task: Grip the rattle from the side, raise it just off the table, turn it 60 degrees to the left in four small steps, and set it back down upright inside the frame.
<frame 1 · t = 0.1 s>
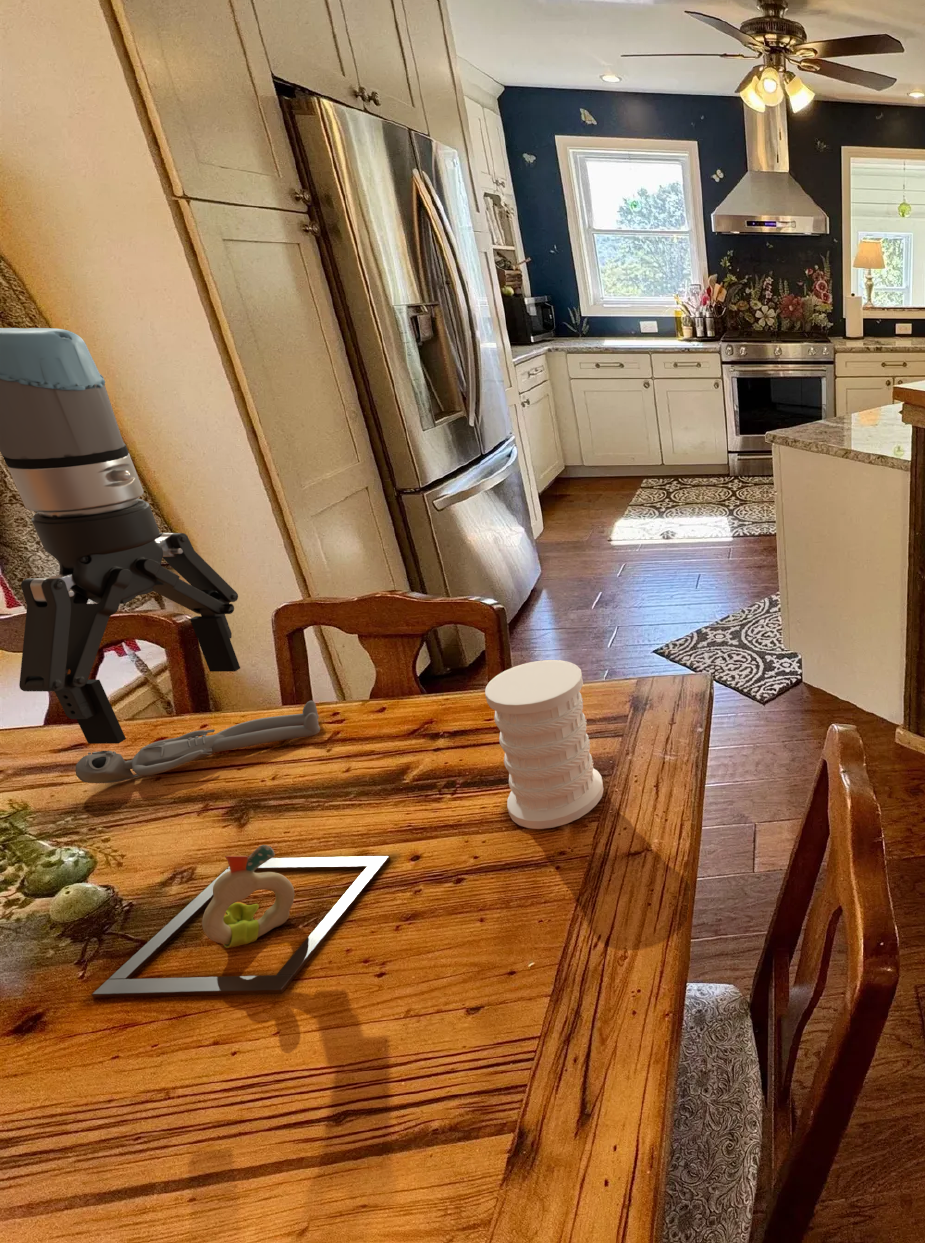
hand: (171, 703, 73), 22 cm above the table, tool pointing down, fingers open, 13 cm apart
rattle: (259, 922, 75), resting in spot frame
alien figure: (212, 757, 101), on the table
spot frame: (258, 920, 75), on the table
decorative container: (557, 799, 94), on the table
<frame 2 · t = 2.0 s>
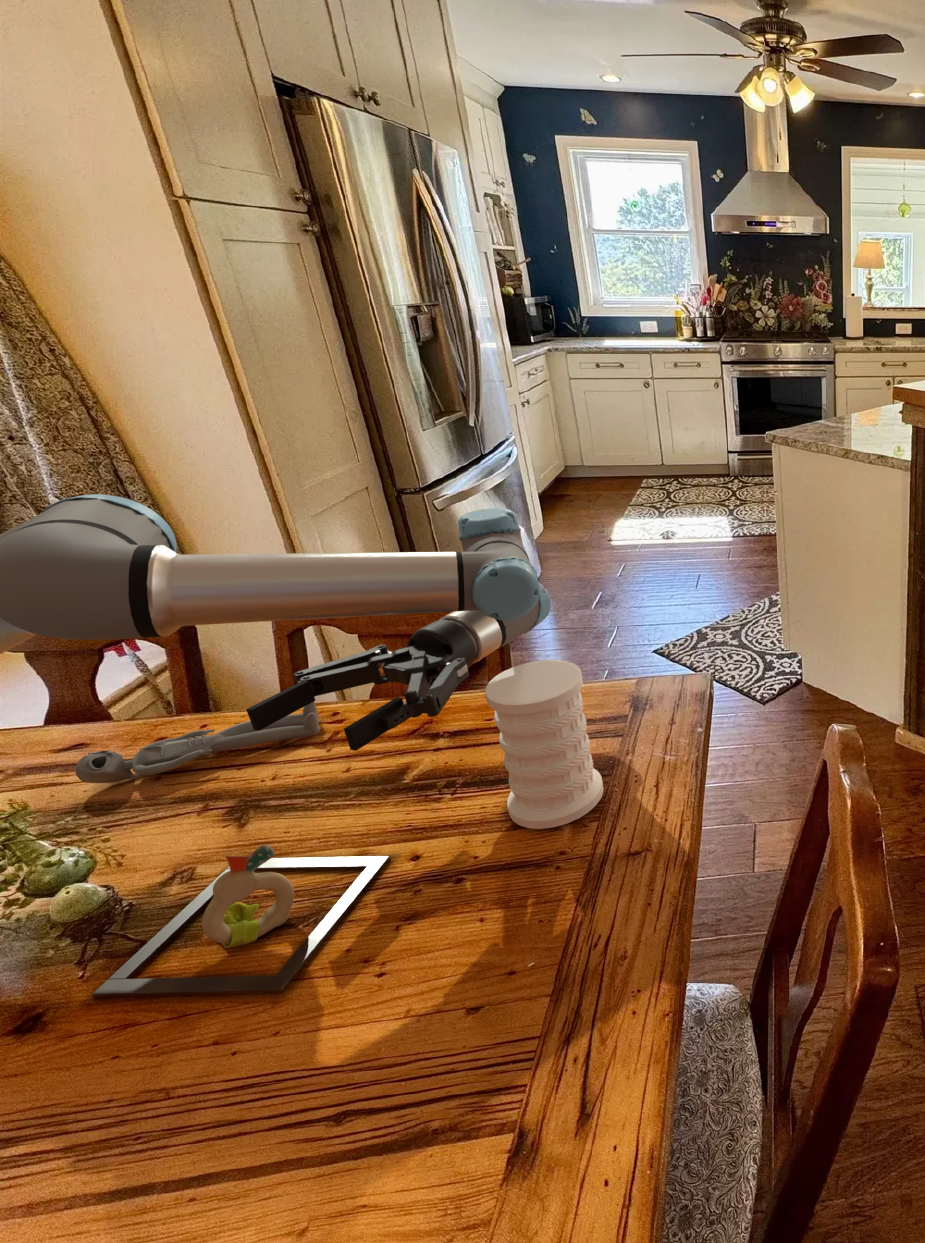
hand: (299, 730, 77), 18 cm above the table, tool horizontal, fingers open, 13 cm apart
nothing on the table moved.
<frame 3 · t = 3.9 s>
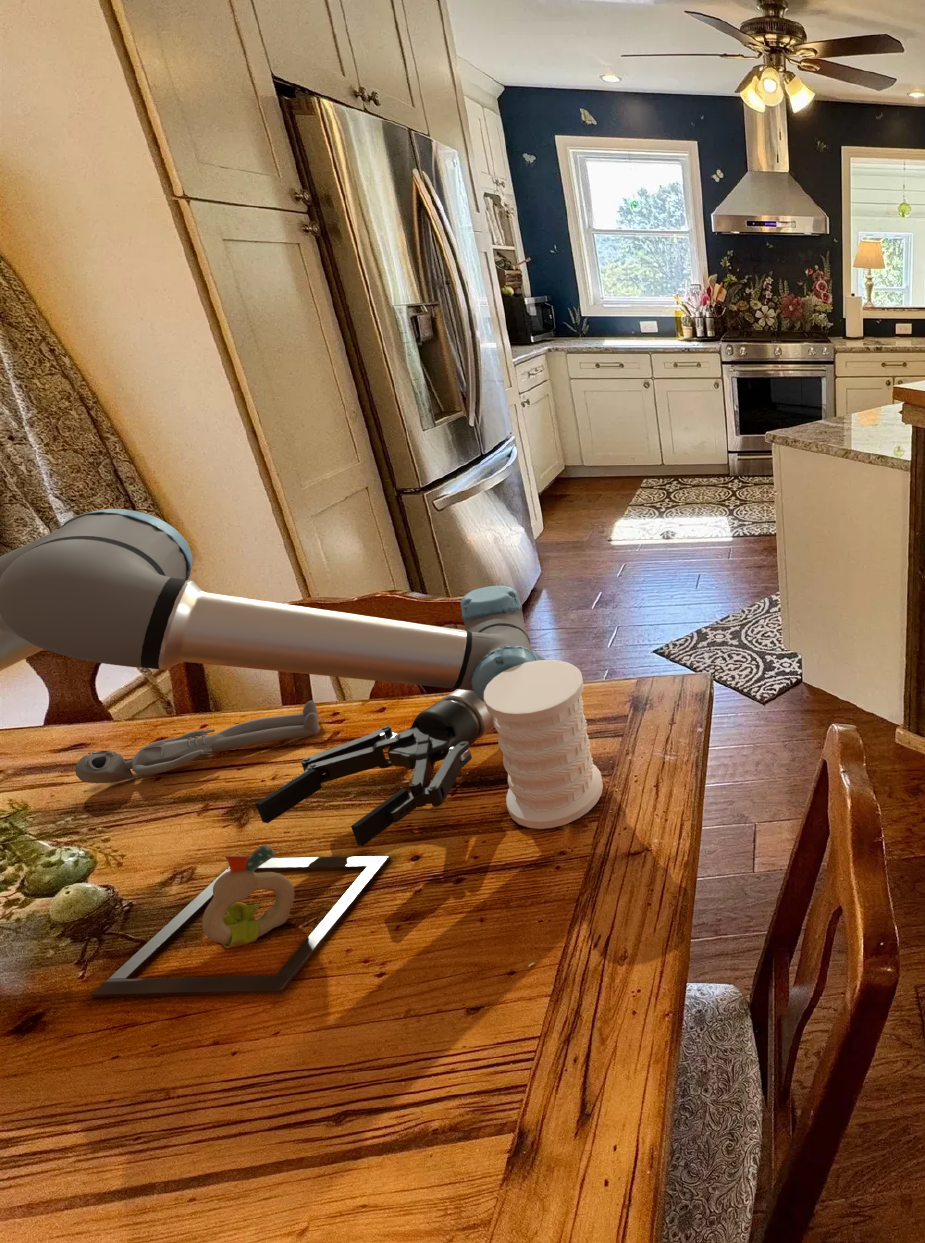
hand: (307, 825, 79), 7 cm above the table, tool horizontal, fingers open, 13 cm apart
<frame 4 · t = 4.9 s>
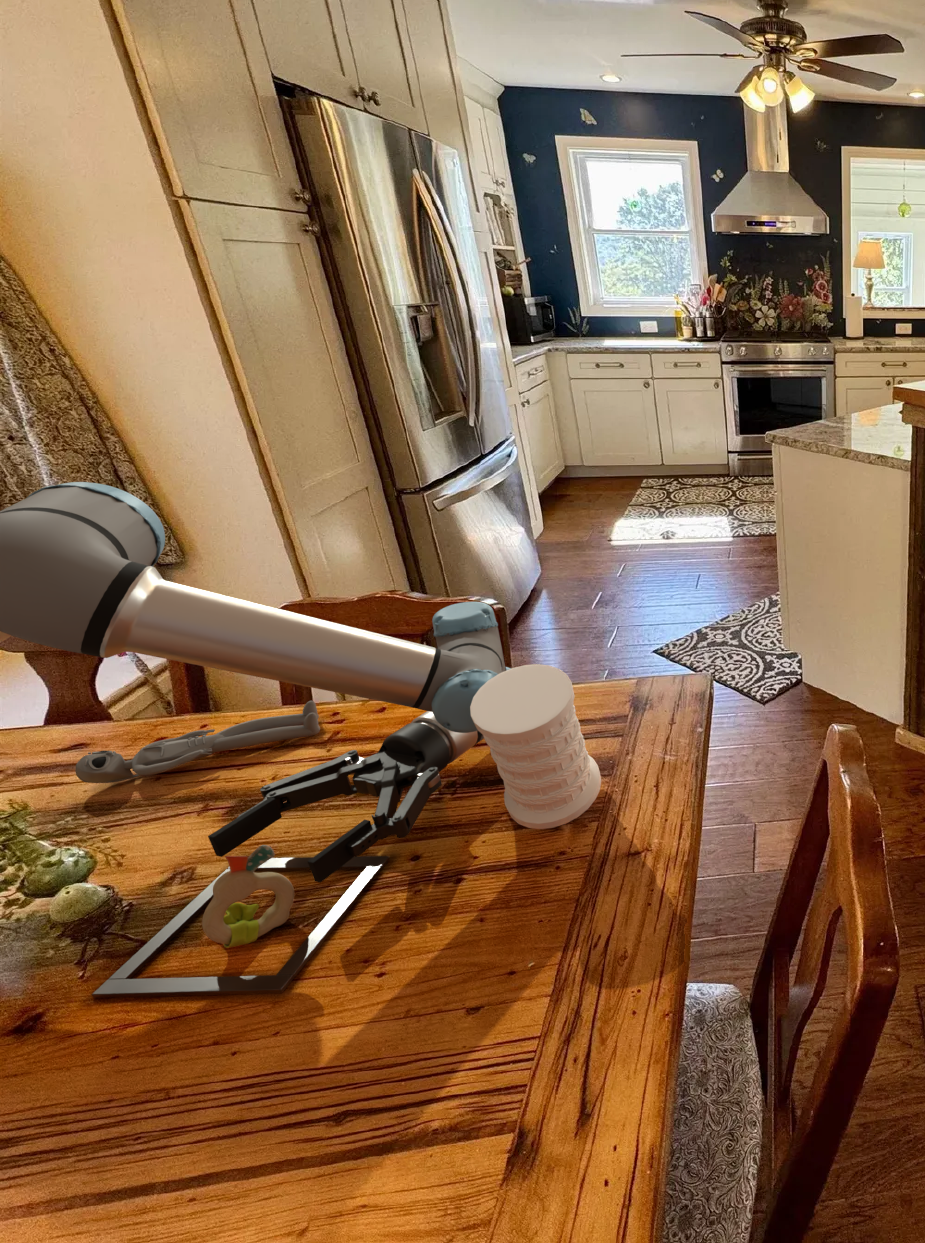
hand: (262, 859, 75), 6 cm above the table, tool horizontal, fingers open, 13 cm apart
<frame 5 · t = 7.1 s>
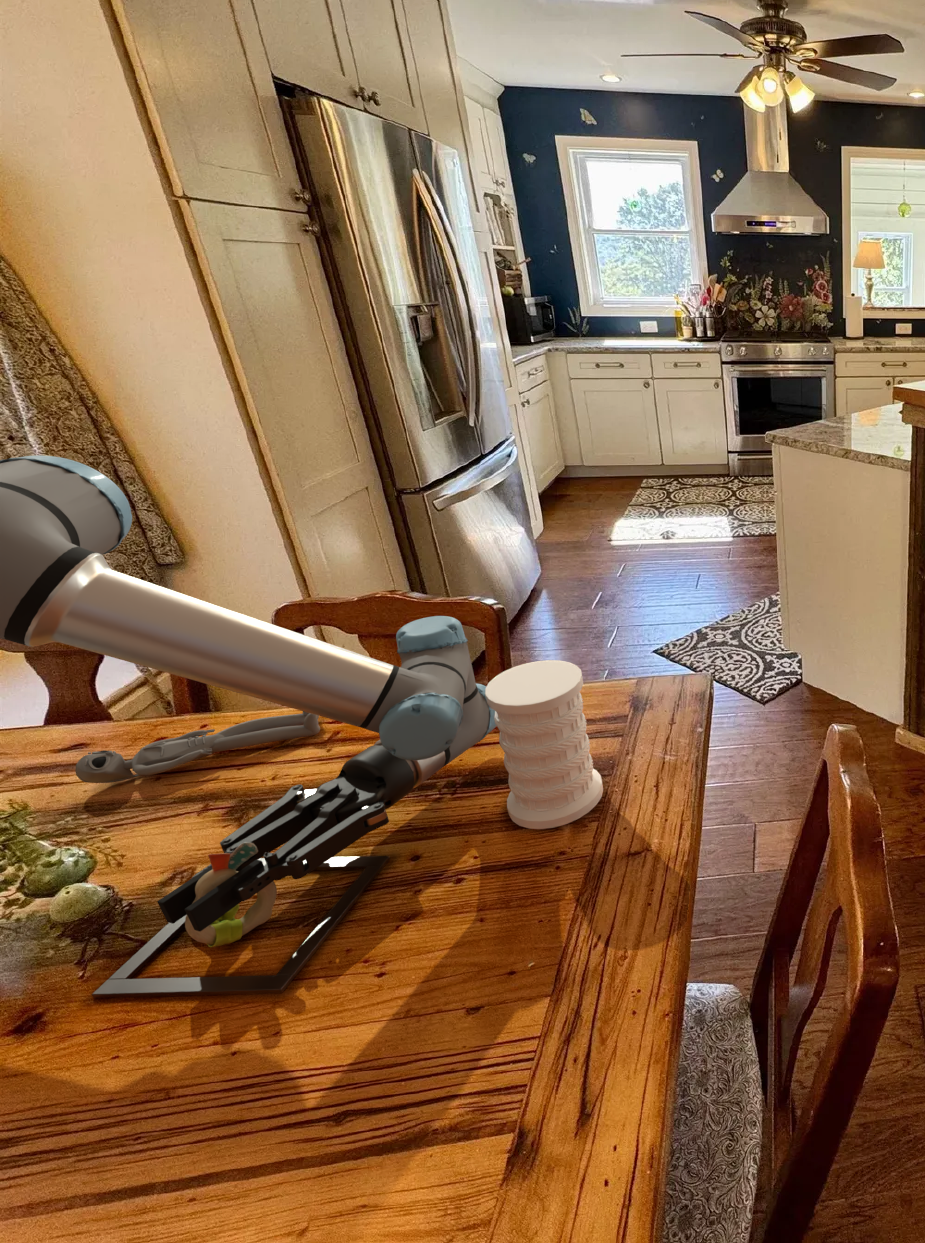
hand: (179, 916, 68), 7 cm above the table, tool horizontal, fingers closed on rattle, 3 cm apart
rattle: (239, 922, 75), resting in spot frame, touching gripper
decorative container: (557, 799, 94), on the table
everything else where it was.
when the fingers open (7 cm above the table, at t = 11.5 s): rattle stays where it is, resting in spot frame.
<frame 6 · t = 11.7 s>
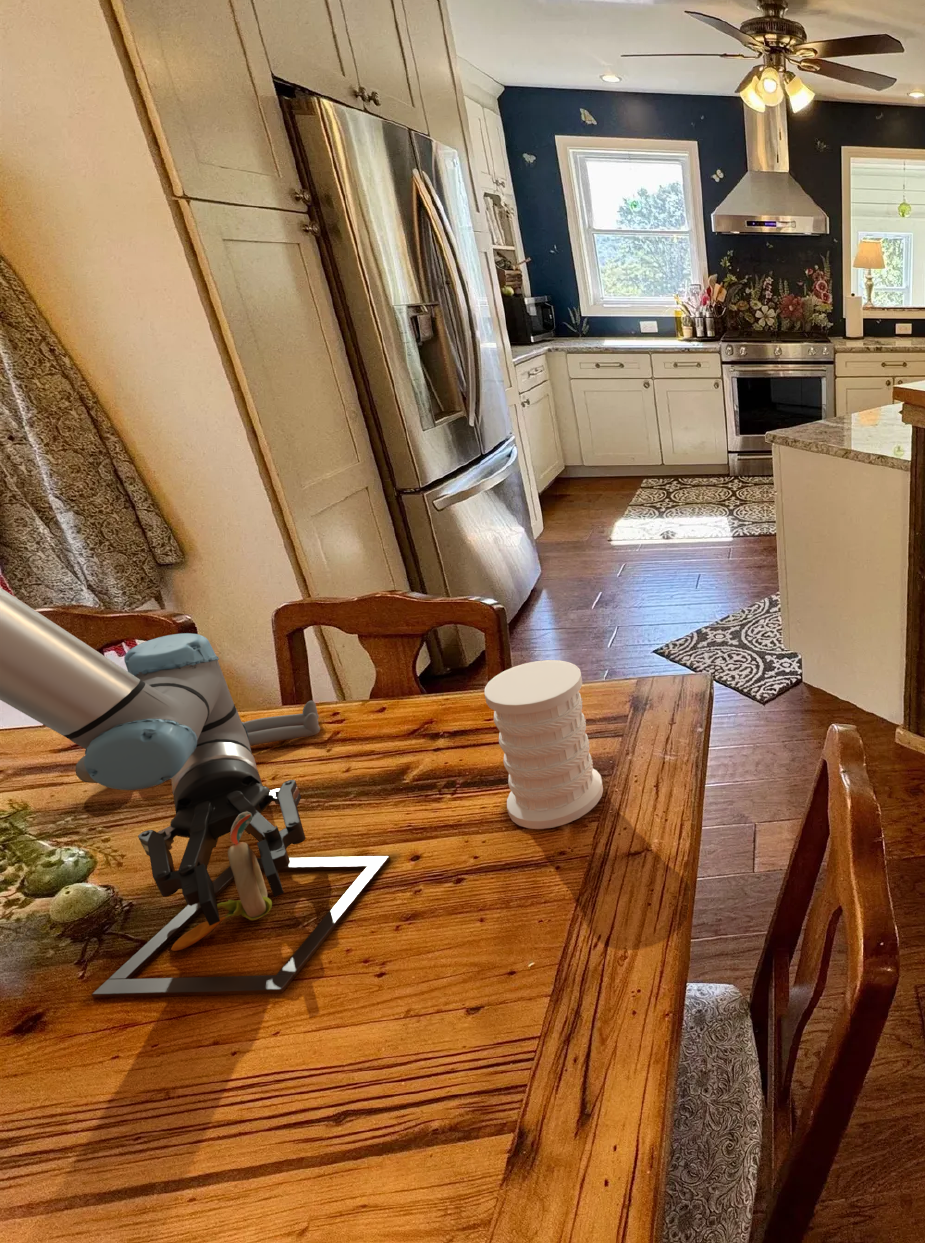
hand: (243, 898, 69), 7 cm above the table, tool horizontal, fingers open, 4 cm apart
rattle: (235, 919, 76), resting in spot frame
everything else where it was.
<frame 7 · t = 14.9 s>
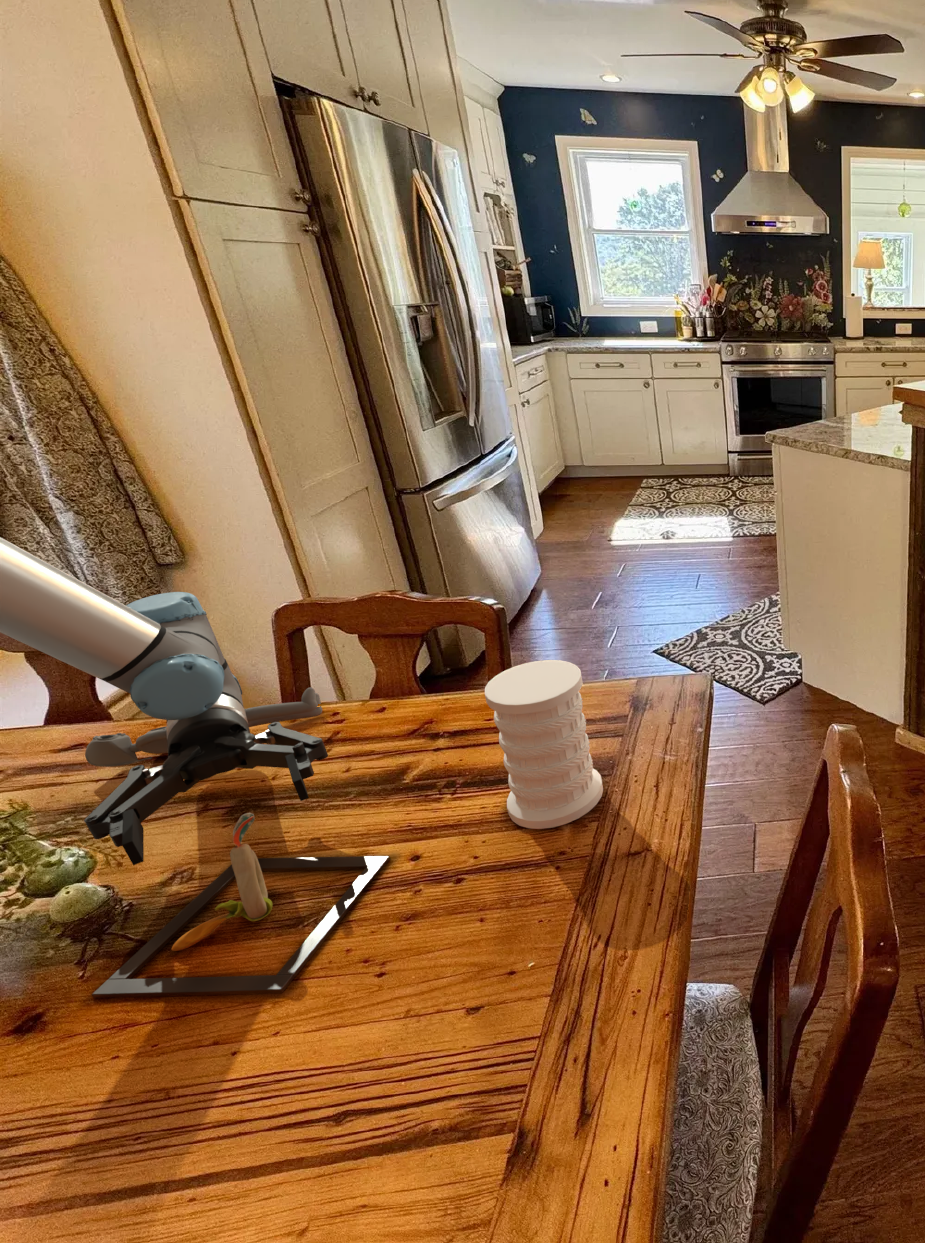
hand: (221, 820, 76), 10 cm above the table, tool horizontal, fingers open, 13 cm apart
alien figure: (214, 742, 101), point 1 cm above the table, touching arm
everything else where it was.
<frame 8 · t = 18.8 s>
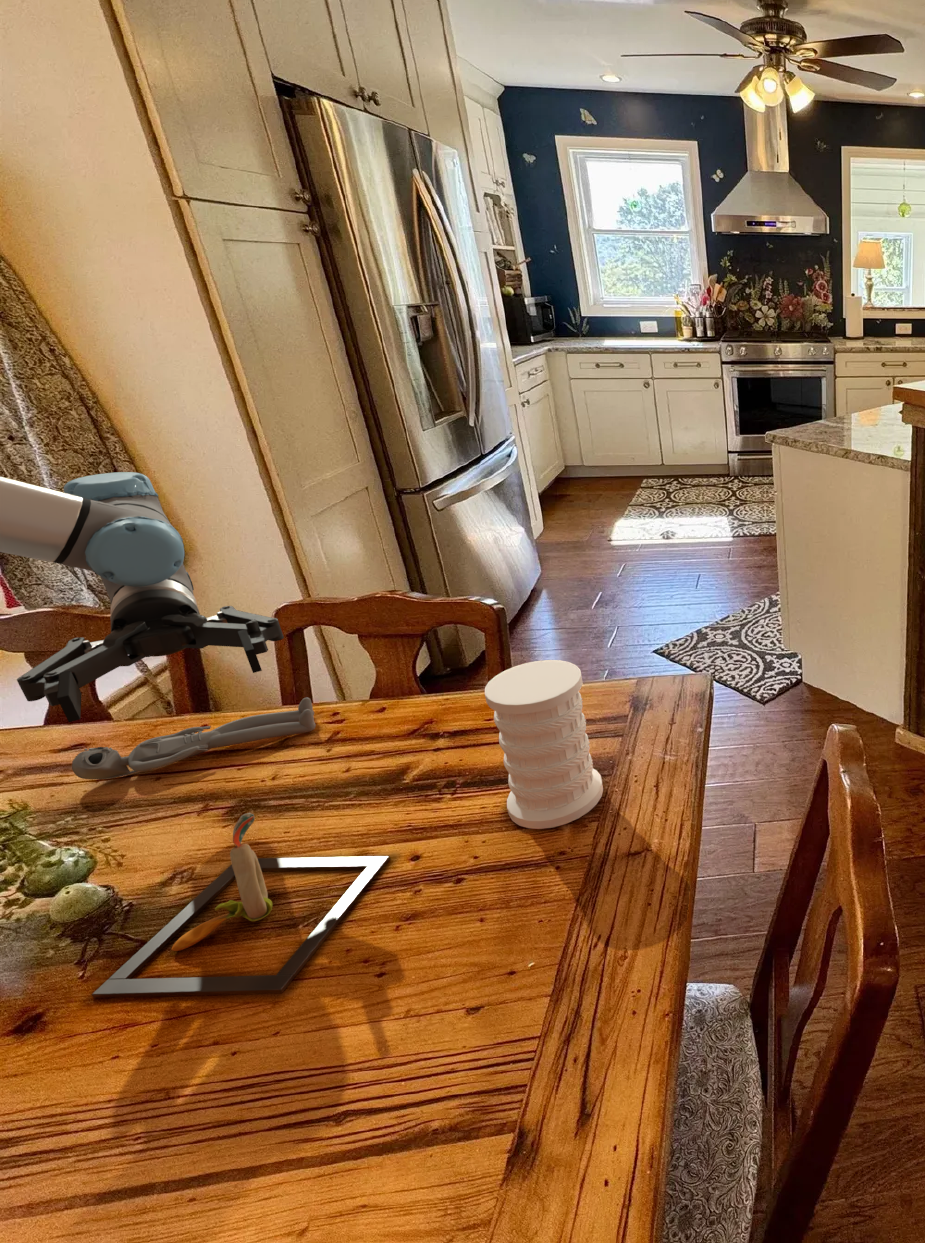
hand: (167, 683, 72), 25 cm above the table, tool horizontal, fingers open, 13 cm apart
alien figure: (208, 753, 101), on the table
everything else where it was.
at the end: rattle inside the target area (2.8 cm from its centre), resting in spot frame; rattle tilted 0°; the gripper is holding nothing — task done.
